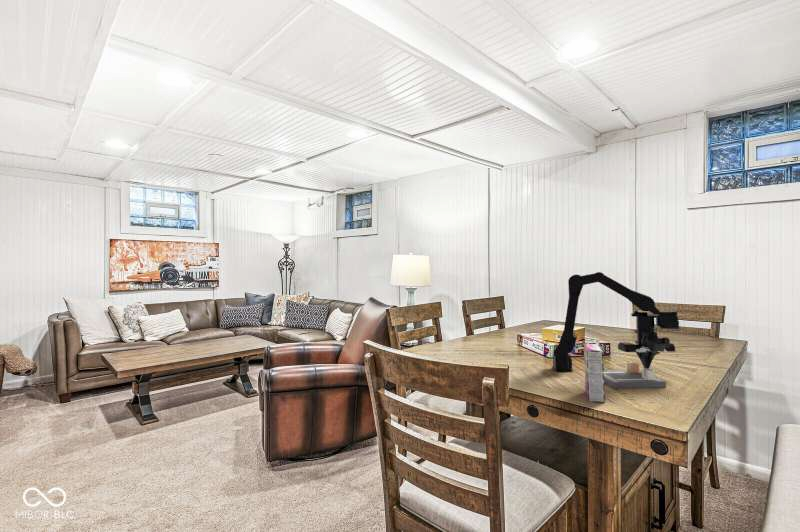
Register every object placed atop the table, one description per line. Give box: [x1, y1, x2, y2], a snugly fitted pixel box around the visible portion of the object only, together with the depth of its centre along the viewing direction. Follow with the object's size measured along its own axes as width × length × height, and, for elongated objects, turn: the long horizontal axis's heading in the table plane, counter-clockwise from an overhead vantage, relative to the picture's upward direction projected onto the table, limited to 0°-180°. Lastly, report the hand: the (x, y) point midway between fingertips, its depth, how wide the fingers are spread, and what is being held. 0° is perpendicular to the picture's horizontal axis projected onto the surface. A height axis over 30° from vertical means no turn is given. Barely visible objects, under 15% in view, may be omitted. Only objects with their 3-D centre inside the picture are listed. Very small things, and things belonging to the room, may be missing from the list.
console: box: [604, 369, 667, 389], centre depth 147 cm, size 18×16×2 cm
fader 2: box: [641, 368, 656, 380], centre depth 142 cm, size 2×4×3 cm
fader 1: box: [626, 361, 640, 373], centre depth 152 cm, size 2×4×3 cm
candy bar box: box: [583, 343, 606, 404], centre depth 131 cm, size 11×5×16 cm, turn 160°
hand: (646, 369), depth 152 cm, fingers closed
